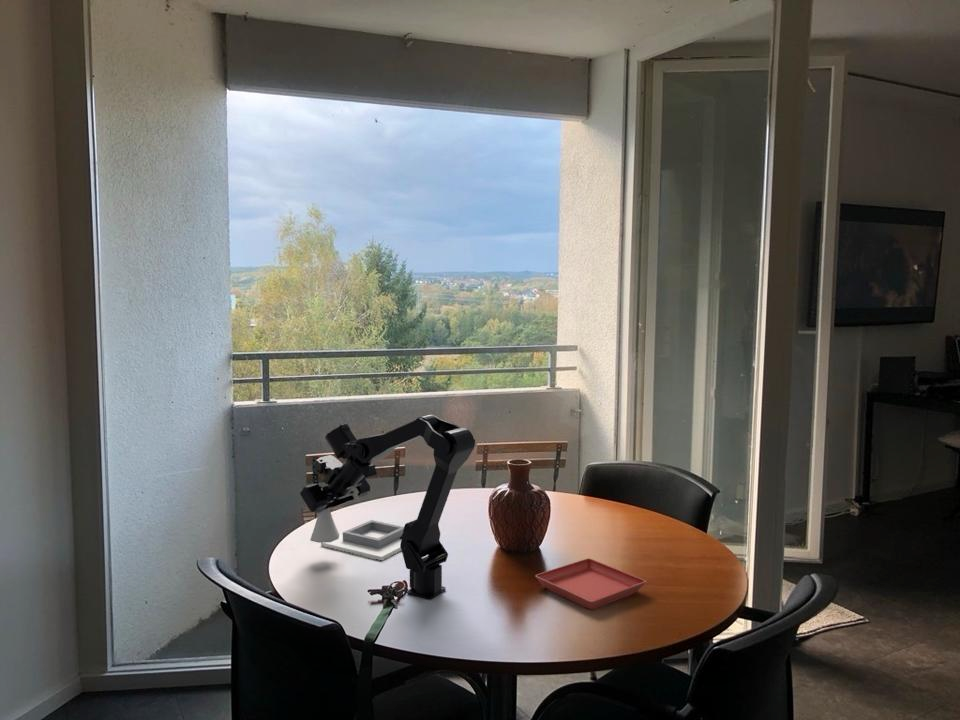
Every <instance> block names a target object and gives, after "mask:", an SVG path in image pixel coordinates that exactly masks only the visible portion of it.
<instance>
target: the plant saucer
mask: <svg viewBox="0 0 960 720" xmlns="http://www.w3.org/2000/svg"><path fill="white" fill-rule="evenodd" d="M535 578H536V579H537V580H538V582H539V583H540V584H541V585H542V586H543V587H544V588H545V589H546V588H547V589H546V590H549V591H551V592H553V593H555V594H557V595H559V596H561V597H563V598H565V599H567V600H570V601H572V602H573V603H575V604H578V605H580V606H582V607H583V608H586V609H588V610H595V609H597V608H600V607H602V606H604V605H607V604H611V603H614V602H615V601H617V600H620V599H623V598H626V597H628V596H631V595H633V594H635V593H636V592H638V591H639V590H640V589H641V588H642V587H643V586H644V585H645V584H646V582H647V581H646V579H643V578H640V577H638V576H635V575H633V574H631V573H628V572H626V571H625V572H624V571H623V570H621V569H618V568H616V567H613V566H611V565H608V564H606V563H603V562H600V561H597V560H595V559H594V558H590V557H589V558H584V559H581V560H578V561H575V562H571V563H568V564H565V565H562V566H559V567H557V568H553V569H548V570H546V571H544V572H540V573H538V574H535Z"/></svg>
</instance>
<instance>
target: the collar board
mask: <svg viewBox="0 0 960 720" xmlns="http://www.w3.org/2000/svg"><path fill="white" fill-rule="evenodd" d="M403 529H404V526H401V525H396V524H391V523H387V522H382V521H379V520H378V521H377V520H374V519H370V520H368V521H365V522H363V523H360V524H358V525H356V526H354V527H352V528H349V529H347V530H344V531H343V532H341V533H339V539H337V540H335V541H332V542H324V543H320V546H321V547H323V546H324V548H327V547H329V549H331V548H334V549H333V550H336V549H338V550H337V551H340V550H342V551H341V552H344V551H347V552H346V553H348V552H351V553H350V554H352V553H355V554H354V555H356V554H359V555H358V556H360V555H362V556H361V557H364V556H366V557H365V558H368V557H370V558H369V559H372V558H374V559H373V560H376V559H378V560H377V561H380V560H382V561H384V560H386V559H388V558H390V557H391V555H392V556H394V555H396V554H398V553H399V552H402V550H401V548H400V544H401V540H402V539H400V537H401V536H402V534H403ZM397 552H398V553H397ZM395 553H396V554H395ZM393 554H394V555H393ZM389 556H390V557H389ZM387 557H388V558H387ZM385 558H386V559H385ZM383 559H384V560H383Z"/></svg>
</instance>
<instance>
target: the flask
mask: <svg viewBox="0 0 960 720" xmlns="http://www.w3.org/2000/svg"><path fill="white" fill-rule="evenodd" d="M339 534H340V532H339V531H338V528H337V526H336V523H335V520H334V518H333V515H332V512H331V509H330V508H328V509H326V510H324V511H321V512H319V513H317V518H316V521H315V524H314V527H313V530H312V534H311V537H310V539H309V540H310V541H311V542H314V543H320V544H321V543H324V542H332V541H335V540H337V539H339Z"/></svg>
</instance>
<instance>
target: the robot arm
mask: <svg viewBox="0 0 960 720" xmlns="http://www.w3.org/2000/svg"><path fill="white" fill-rule="evenodd" d="M419 438H423V440H424V442H425V443H426V444H427V446H428V447H430V448H431V449H433V453H432V454H433V458H434V463H435V467H434V469H433V471H432V473H431V477H430V480H429V483H428V487H427V490H426V493H425V495H424V499H423V500H422V503H421V505H420V506H421V507H420V509H419V512H418V516H417V518H416V519H414V520H411V521H409V522H406V523H404V526H403V527H404V529H403V534H402V536H401V537H400V539H402V540H401V544H400V548H401V553H402V558H403V561H404V564H405V568H406V569H407V570H409V589H407V590H406V594H408V595H412V596H415V597H420V598H423V599H426V600H432V599H433V598H435V597H437V596H439V595H440V594H442V592H445V591H446V589H447V588H446V586H443V579H442V578H443V576H442V575H443V572H442V570H443V569H442V568H443V565H442V564H443V563H446V562H447V559H448V556H449V553H448V552H447V550H446V548H445V547H444V545H443V544H442V543H441V540H440V538H441V531H440V530H441V529H440V526H439V523H440V520H441V517H442V514H443V513H444V512H443V511H444V509H445V506H446V503H447V501H448V497H449V495H450V491H451V489H452V487H453V483H454V482H455V479H456V476H457V473H458V471H459V469H460V468H462V466H463V465H464V464H465V462H466V461H468V459H469V458H470V456H471V454H472V452H473V450H474V448H475V446H476V439H475V438H474V436H473V434H472V432H471V431H470V430H469V429H467V428H465V427H461V426H459V425H458V424H455V423H453V422H449V421H446V420H444V419H441V418H440V417H438V416H436V415H434V414H428V415H423V416H419V417H417V418H416V419H414V420H412V421H410V422H408V423H406V424H403V425H401V426H399V427H396V428H394V429H391V430H389V431H387V432H384V433H380V434H375V435H374V434H373V435H371V436H367V437H366V436H365V437H362V438H359V439H357V437H355V435H354V434H353V432H352V430H351V428H350V426H349V425H348V423H342V424H339V426H338V427H335V428H334V429H333V430H331V431H330V432H328V433H326V435H325V437H324V440H325V441H326V443H327V444H328V446H329V448H330V449H331V450H332V452H333V454H334V455H335V456H334V455H331V454H328V455H325V456H321V457H319V458H318V459H315V461H314V462H313V463H312V466H311V469H312V471H313V472H314V473H315V474H316V475H321V476H323V477H324V479H323V482H324V483H325V486H320V484H319V483H312V484H309V485H304V486H303V487H302V488H301V489H300V491H299V495H300V496H301V498H302V500H303V501H304V504H305V505H306V506H307V508H308V509H309V511H310V512H312V513H315V514H318V513H319V512H321V511H324V510H326V509H328V508H330V510H331V509H333V508H336V507H338V506H341V505H343V504H346V503H349V502H352V501H354V500H355V498H354V494H355V492H354V489H357V491H358V493H357V496H358V498H363V497H366V496H368V494H369V493H370V492H371V485H370V484H369V482H368V481H367V479H369V478H372V477H375V476H377V475H378V471H377V468H376V465H375V464H373V462H374V461H378V460H382V459H384V458H386V457H388V456H389V455H390V454H391V453H393V452H394V450H395V449H397V448H398V447H399V446H403V445H405V444H407V443H410V442H412V441H414V440H416V439H419ZM339 459H343V460H345V461H344V462H343V463H342V462H341V461H340V460H339Z"/></svg>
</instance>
